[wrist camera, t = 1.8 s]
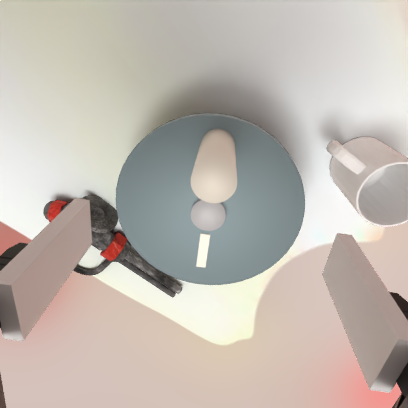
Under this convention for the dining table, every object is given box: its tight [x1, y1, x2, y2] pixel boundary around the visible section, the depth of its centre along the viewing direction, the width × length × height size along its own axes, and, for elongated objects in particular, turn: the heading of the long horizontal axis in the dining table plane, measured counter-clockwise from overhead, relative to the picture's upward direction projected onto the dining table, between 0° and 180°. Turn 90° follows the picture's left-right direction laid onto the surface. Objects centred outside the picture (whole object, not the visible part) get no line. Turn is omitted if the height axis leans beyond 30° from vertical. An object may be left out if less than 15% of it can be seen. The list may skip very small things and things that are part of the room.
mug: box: [326, 137, 408, 227], centre depth 38 cm, size 12×8×10 cm, turn 55°
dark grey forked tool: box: [44, 195, 182, 297], centre depth 52 cm, size 6×26×15 cm
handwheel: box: [116, 113, 305, 285], centre depth 33 cm, size 22×22×12 cm
